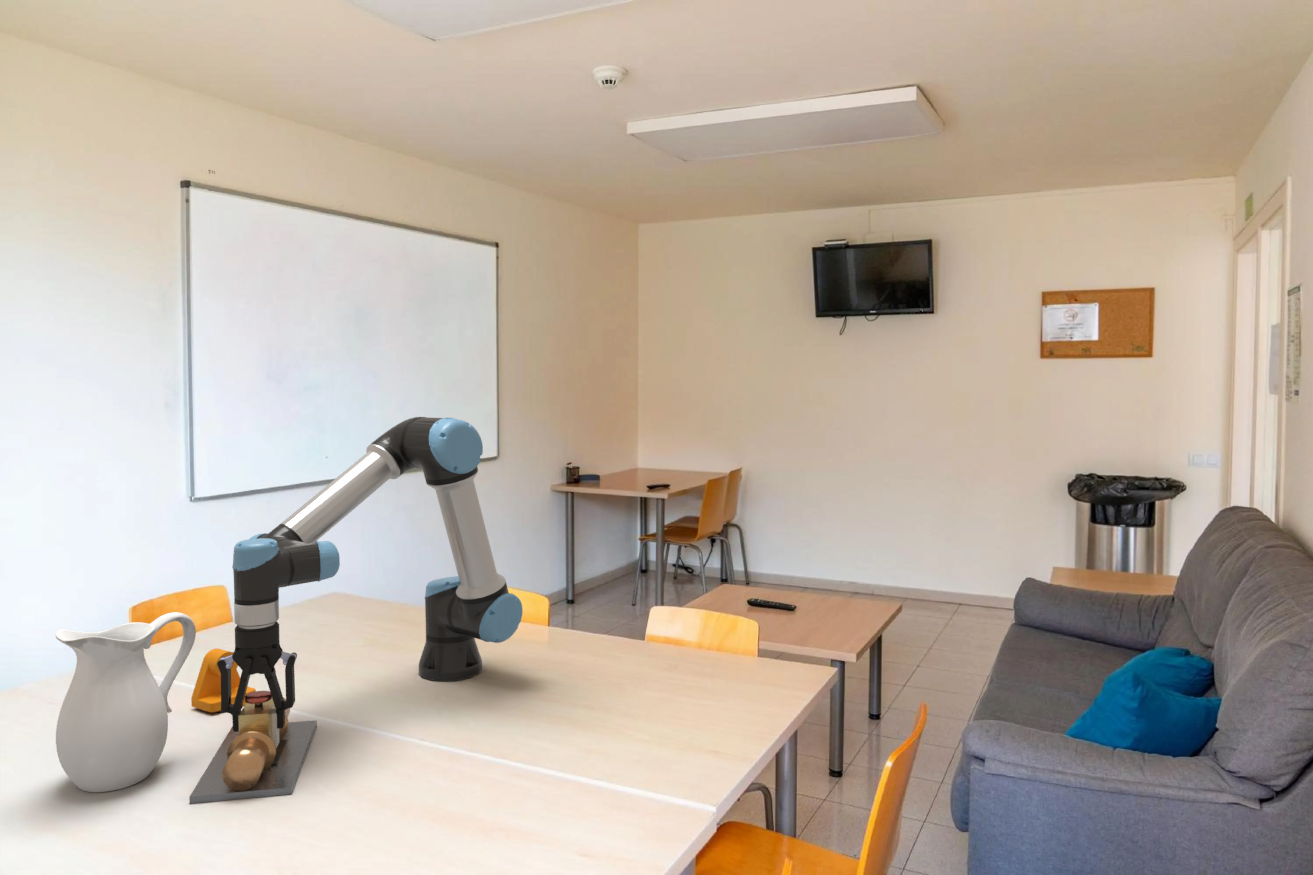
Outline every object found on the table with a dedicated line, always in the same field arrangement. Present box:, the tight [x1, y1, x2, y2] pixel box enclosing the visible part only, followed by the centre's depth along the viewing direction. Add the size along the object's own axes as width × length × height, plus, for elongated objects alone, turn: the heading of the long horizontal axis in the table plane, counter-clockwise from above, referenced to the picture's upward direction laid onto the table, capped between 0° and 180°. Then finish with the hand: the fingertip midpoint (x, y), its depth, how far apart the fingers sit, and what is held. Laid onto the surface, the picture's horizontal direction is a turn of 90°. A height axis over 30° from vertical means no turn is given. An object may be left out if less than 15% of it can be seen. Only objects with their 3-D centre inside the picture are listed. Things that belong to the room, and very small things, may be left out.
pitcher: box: [55, 611, 197, 793], centre depth 160 cm, size 24×17×28 cm
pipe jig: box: [188, 697, 318, 804], centre depth 166 cm, size 31×16×8 cm, turn 13°
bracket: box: [191, 648, 256, 713], centre depth 193 cm, size 11×7×12 cm, turn 149°
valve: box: [239, 690, 275, 738], centre depth 165 cm, size 5×9×11 cm, turn 13°
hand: (259, 745), depth 166 cm, fingers closed on valve, 5 cm apart
